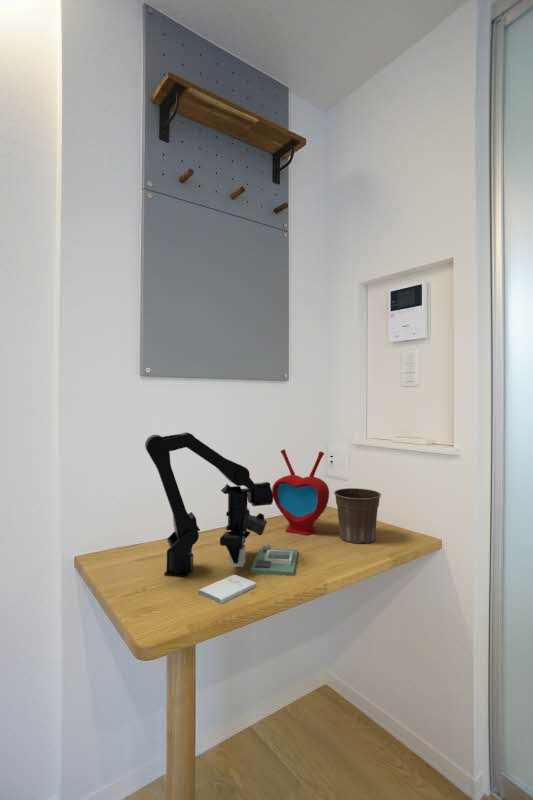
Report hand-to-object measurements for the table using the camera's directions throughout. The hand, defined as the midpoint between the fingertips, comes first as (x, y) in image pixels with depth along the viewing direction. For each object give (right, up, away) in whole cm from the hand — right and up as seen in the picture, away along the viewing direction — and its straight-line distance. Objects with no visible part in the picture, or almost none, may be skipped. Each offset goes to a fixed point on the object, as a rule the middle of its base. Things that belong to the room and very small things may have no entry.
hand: (237, 560), depth 121 cm
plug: (0, -1, 0) cm, 1 cm away
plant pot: (+41, -2, +24) cm, 47 cm away
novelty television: (+22, -2, +33) cm, 40 cm away
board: (+11, -1, +1) cm, 11 cm away
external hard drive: (-1, -2, -17) cm, 17 cm away
